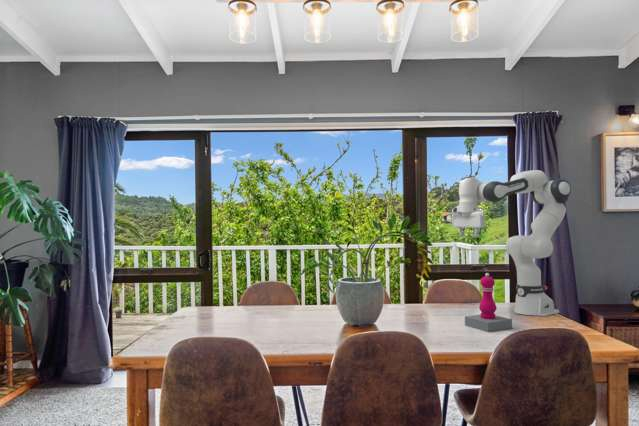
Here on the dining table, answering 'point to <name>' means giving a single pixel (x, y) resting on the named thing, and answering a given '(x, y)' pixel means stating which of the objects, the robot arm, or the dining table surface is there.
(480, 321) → the riser
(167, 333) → the dining table surface
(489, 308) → the pepper mill
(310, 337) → the dining table surface
